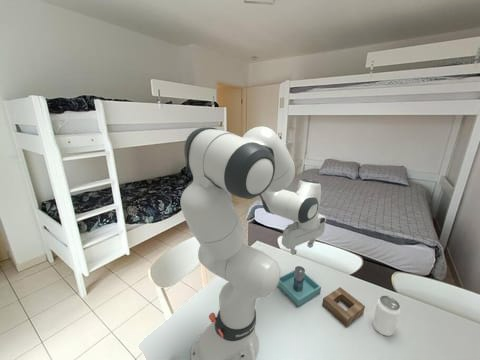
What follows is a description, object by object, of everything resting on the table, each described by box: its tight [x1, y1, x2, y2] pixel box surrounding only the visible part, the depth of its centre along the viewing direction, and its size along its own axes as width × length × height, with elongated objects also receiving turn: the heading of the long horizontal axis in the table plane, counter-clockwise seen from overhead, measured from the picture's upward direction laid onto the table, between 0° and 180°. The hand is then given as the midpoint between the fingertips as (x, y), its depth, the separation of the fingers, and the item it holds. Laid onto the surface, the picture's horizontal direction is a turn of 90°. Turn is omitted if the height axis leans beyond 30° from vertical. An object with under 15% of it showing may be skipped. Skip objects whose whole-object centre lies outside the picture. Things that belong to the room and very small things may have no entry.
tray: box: [277, 269, 322, 309], centre depth 93 cm, size 13×13×4 cm
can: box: [371, 295, 401, 337], centre depth 76 cm, size 6×6×12 cm
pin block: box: [321, 286, 366, 328], centre depth 84 cm, size 11×11×4 cm
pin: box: [293, 265, 306, 292], centre depth 92 cm, size 4×4×10 cm
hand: (301, 250), depth 87 cm, fingers open, 8 cm apart
